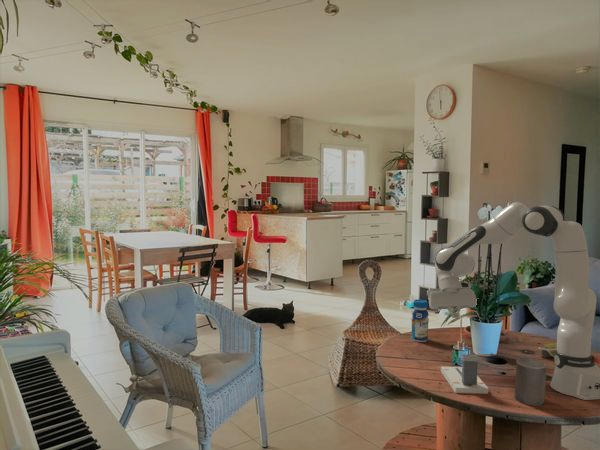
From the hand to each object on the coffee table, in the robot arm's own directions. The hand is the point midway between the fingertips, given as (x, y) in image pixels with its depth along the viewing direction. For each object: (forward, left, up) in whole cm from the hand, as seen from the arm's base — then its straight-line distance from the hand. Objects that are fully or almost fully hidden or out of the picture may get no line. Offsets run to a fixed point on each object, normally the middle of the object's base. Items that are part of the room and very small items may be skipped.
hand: (455, 317), depth 200 cm
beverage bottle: (+8, -33, -21) cm, 40 cm away
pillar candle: (-17, +34, -21) cm, 43 cm away
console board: (+2, +19, -21) cm, 28 cm away
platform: (-46, -11, -21) cm, 52 cm away
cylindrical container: (-17, -14, -21) cm, 30 cm away
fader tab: (+2, +26, -18) cm, 32 cm away
